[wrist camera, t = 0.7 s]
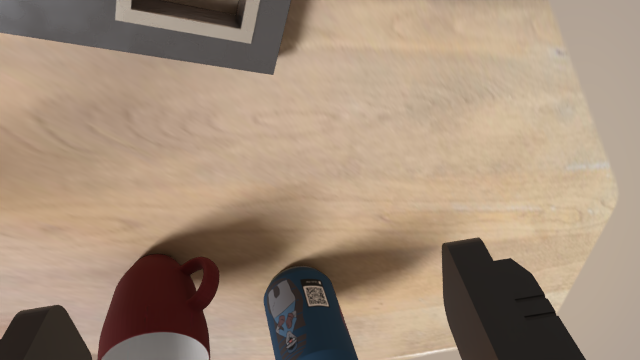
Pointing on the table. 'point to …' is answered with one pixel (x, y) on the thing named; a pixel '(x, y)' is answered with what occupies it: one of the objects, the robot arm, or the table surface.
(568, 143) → the table surface
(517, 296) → the robot arm
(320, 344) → the soda can
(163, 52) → the grey peg board
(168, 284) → the mug
